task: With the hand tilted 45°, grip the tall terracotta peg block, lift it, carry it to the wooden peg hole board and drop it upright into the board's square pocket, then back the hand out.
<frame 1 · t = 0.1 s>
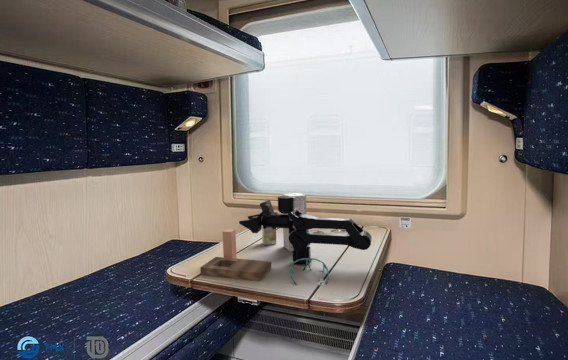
hand: (243, 219, 147), 17 cm above the table, tool horizontal, fingers open, 9 cm apart
skincare box: (269, 243, 169), on the table
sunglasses: (309, 278, 126), on the table
box: (295, 248, 161), on the table
terracotta peg block: (230, 260, 145), on the table
wooden peg hole board: (236, 271, 132), on the table
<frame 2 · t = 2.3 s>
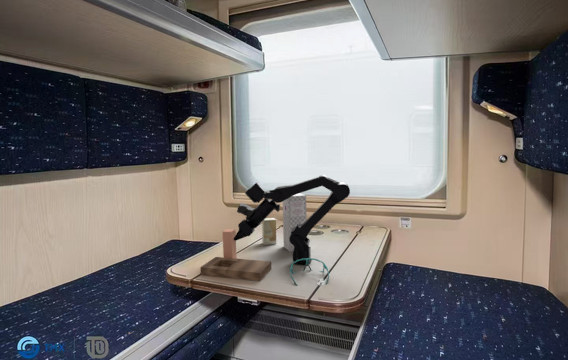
hand: (237, 236, 144), 10 cm above the table, tool tilted 45°, fingers open, 9 cm apart
nothing on the table moved.
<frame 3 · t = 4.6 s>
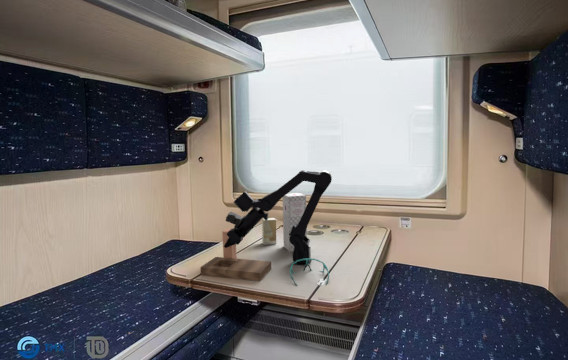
hand: (226, 245, 145), 7 cm above the table, tool tilted 45°, fingers closed on terracotta peg block, 4 cm apart
terracotta peg block: (230, 260, 145), on the table, touching gripper
everything else where it was.
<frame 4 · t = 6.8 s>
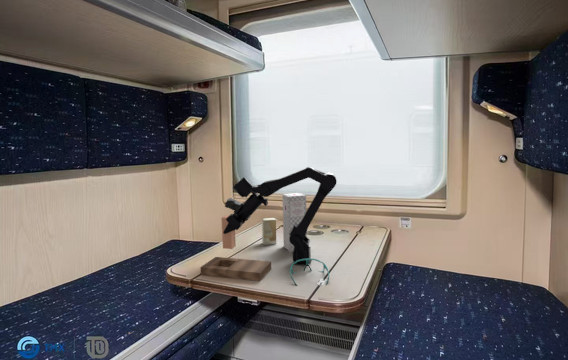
hand: (225, 231, 144), 12 cm above the table, tool tilted 45°, fingers closed on terracotta peg block, 4 cm apart
terracotta peg block: (229, 247, 144), point 6 cm above the table, touching gripper
everything else where it was.
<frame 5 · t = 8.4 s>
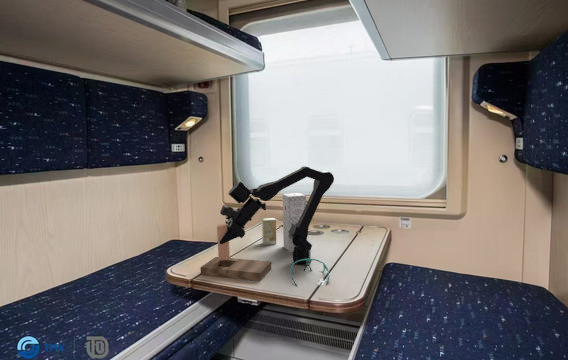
hand: (220, 241, 132), 12 cm above the table, tool tilted 45°, fingers closed on terracotta peg block, 4 cm apart
terracotta peg block: (224, 258, 133), point 5 cm above the table, touching gripper
everything else where it was.
when the fingers open (8 cm above the table, at t = 9.4 s): terracotta peg block drops 1 cm, resting in wooden peg hole board.
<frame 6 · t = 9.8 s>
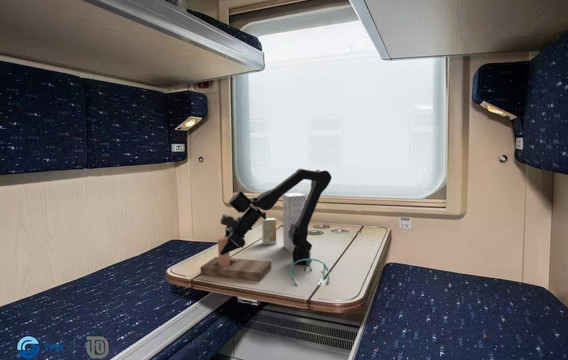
hand: (220, 250, 133), 8 cm above the table, tool tilted 45°, fingers open, 8 cm apart
terracotta peg block: (224, 270, 134), resting in wooden peg hole board
everything else where it was.
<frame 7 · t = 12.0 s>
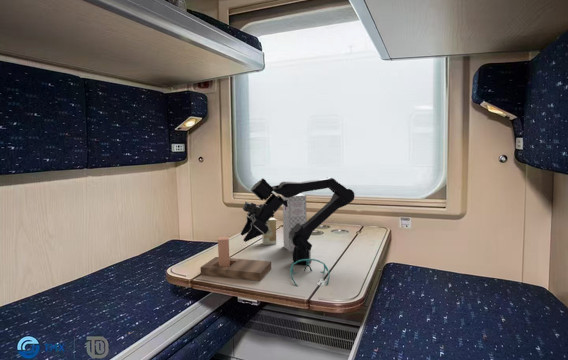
hand: (242, 237, 134), 12 cm above the table, tool tilted 45°, fingers open, 9 cm apart
nothing on the table moved.
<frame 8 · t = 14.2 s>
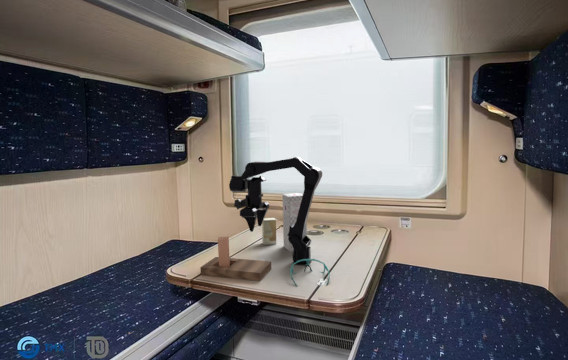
hand: (255, 228, 146), 13 cm above the table, tool pointing down, fingers open, 9 cm apart
at the end: terracotta peg block 0.1 cm from the target spot on the wooden peg hole board, point 0.0 cm above the wooden peg hole board's base; terracotta peg block tilted 0°; the gripper is holding nothing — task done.
